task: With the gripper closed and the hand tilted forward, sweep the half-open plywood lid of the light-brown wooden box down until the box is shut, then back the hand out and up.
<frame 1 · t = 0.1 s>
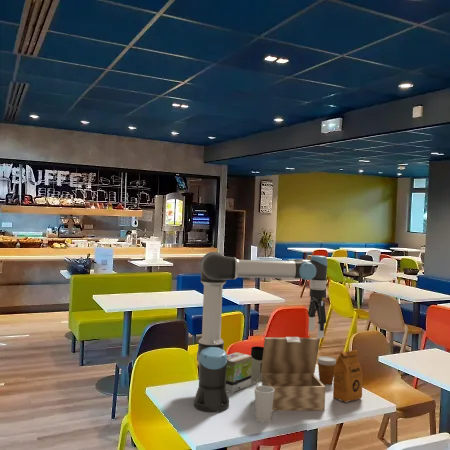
hand: (316, 334, 220), 28 cm above the table, tool pointing down, fingers open, 13 cm apart
wooden box: (291, 402, 208), on the table
disposable coffee cup: (325, 382, 237), on the table
coffee package: (347, 399, 215), on the table
cup: (263, 419, 190), on the table
box lid: (290, 357, 213), point 19 cm above the table, hinge at 70.0°
tea box: (234, 387, 225), on the table
glass holder: (261, 379, 238), on the table
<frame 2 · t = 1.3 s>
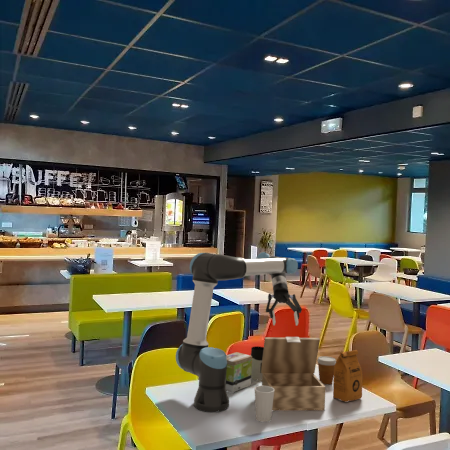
hand: (285, 324, 225), 31 cm above the table, tool tilted 45°, fingers open, 10 cm apart
nothing on the table moved.
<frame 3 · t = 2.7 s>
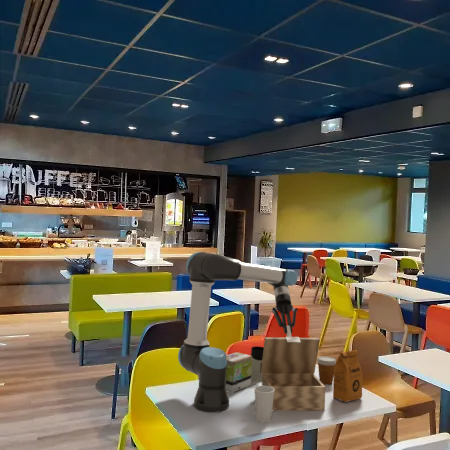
hand: (289, 339, 219), 25 cm above the table, tool tilted 45°, fingers closed
nothing on the table moved.
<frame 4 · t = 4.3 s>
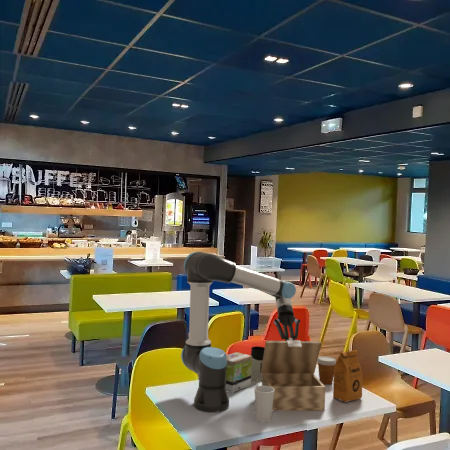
hand: (292, 352, 214), 21 cm above the table, tool tilted 45°, fingers closed
box lid: (291, 359, 212), point 18 cm above the table, hinge at 62.0°, touching gripper, wooden box
everything else where it was.
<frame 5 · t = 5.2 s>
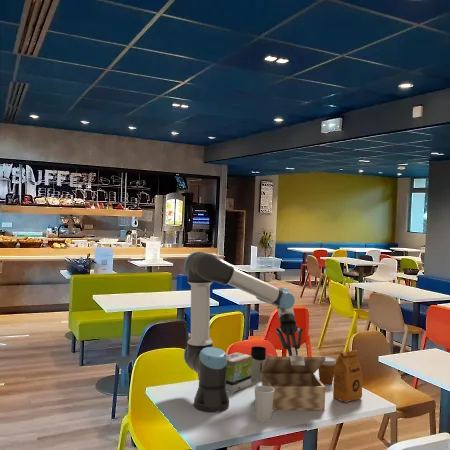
hand: (294, 362, 210), 17 cm above the table, tool tilted 45°, fingers closed
box lid: (292, 367, 209), point 15 cm above the table, hinge at 35.7°, touching gripper
everything else where it was.
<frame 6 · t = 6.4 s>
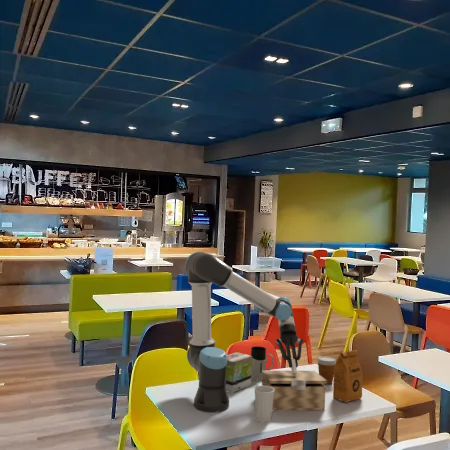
hand: (294, 373, 206), 13 cm above the table, tool tilted 45°, fingers closed
box lid: (293, 379, 208), point 10 cm above the table, hinge at 5.0°, touching gripper
everything else where it was.
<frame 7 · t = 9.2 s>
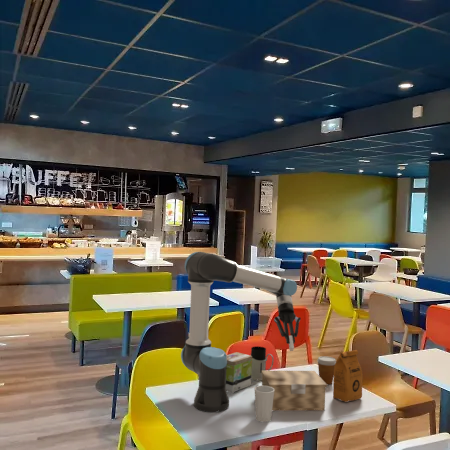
hand: (291, 349, 214), 22 cm above the table, tool tilted 45°, fingers closed
box lid: (292, 381, 208), point 9 cm above the table, hinge at 0.0°, touching wooden box
everything else where it was.
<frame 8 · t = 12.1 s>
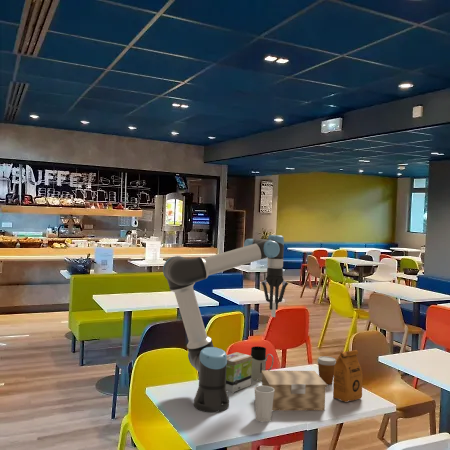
hand: (273, 316, 225), 34 cm above the table, tool pointing down, fingers closed
nothing on the table moved.
at the end: box lid at +0° (first picture: +70°); coffee package moved 0.2 cm from its start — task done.
